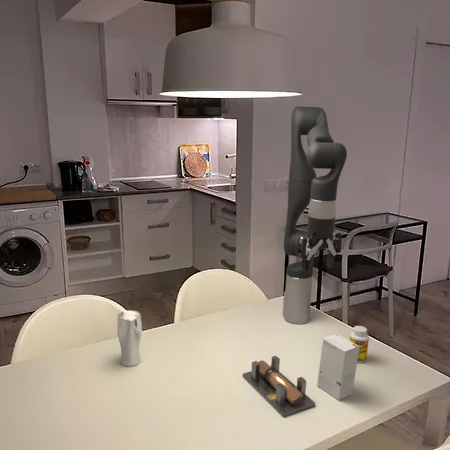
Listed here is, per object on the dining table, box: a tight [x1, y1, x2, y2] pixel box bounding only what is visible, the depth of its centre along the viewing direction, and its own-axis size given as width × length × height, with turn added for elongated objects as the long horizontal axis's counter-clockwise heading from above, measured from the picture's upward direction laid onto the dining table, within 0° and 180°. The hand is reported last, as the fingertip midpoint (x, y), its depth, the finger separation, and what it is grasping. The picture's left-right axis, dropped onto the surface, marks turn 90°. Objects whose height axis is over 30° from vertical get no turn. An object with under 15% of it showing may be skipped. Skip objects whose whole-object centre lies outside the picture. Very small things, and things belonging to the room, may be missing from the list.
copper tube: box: [257, 360, 302, 405], centre depth 125 cm, size 17×4×4 cm, turn 28°
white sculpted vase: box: [117, 309, 143, 367], centre depth 137 cm, size 7×7×15 cm
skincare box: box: [316, 333, 359, 401], centre depth 125 cm, size 8×6×15 cm
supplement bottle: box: [349, 325, 370, 364], centre depth 142 cm, size 6×6×10 cm
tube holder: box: [242, 355, 316, 418], centre depth 125 cm, size 20×10×6 cm, turn 28°
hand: (317, 269), depth 134 cm, fingers open, 8 cm apart
